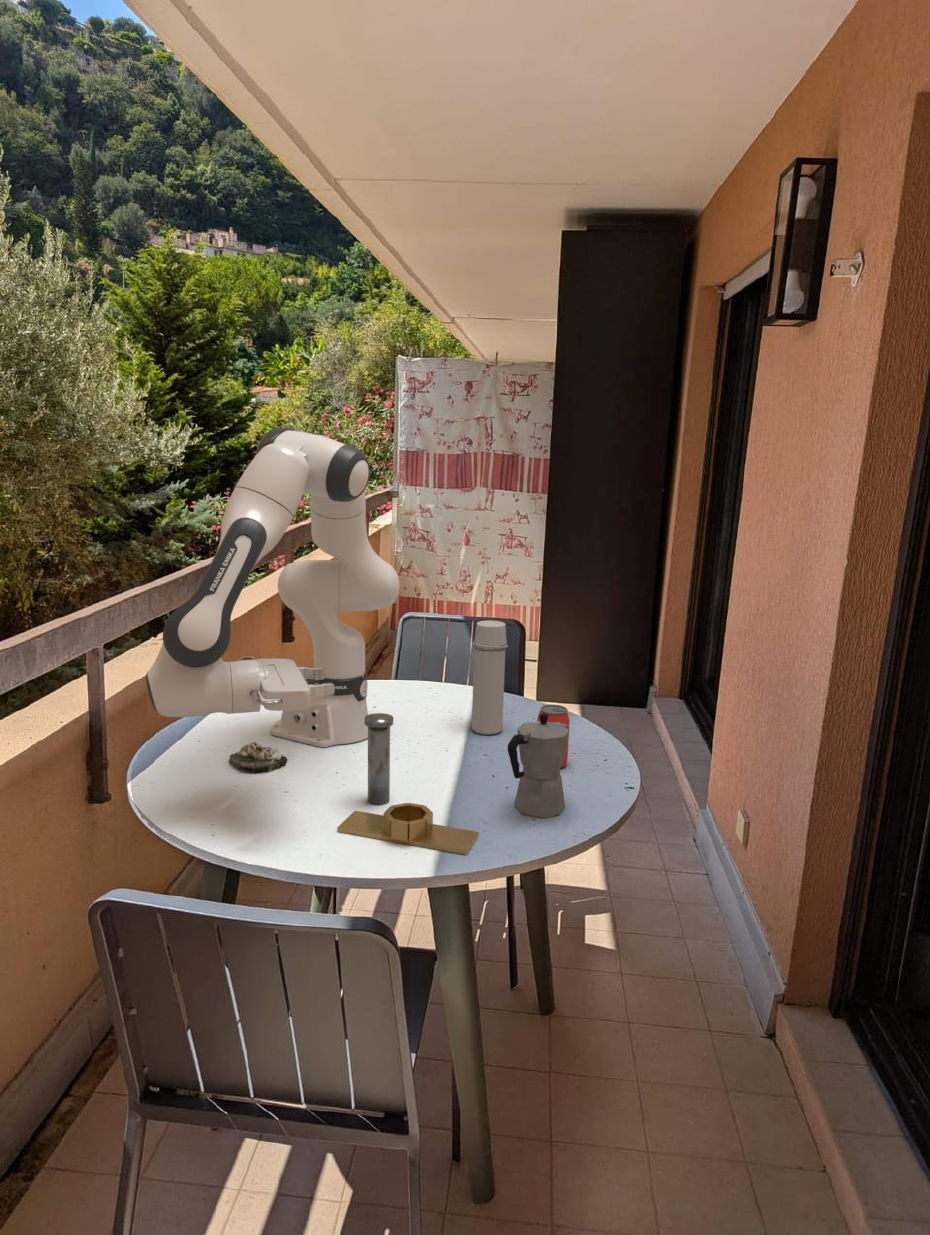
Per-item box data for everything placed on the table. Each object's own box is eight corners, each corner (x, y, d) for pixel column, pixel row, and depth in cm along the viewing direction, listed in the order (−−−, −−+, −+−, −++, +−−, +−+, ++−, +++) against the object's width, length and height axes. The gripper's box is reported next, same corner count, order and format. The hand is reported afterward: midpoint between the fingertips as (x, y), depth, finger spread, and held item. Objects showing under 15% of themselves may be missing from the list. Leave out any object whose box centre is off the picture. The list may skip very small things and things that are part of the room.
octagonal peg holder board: (336, 832, 147) (336, 811, 146) (355, 813, 154) (355, 793, 153) (465, 856, 140) (465, 834, 139) (479, 835, 147) (480, 814, 146)
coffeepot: (544, 789, 166) (548, 700, 163) (582, 805, 160) (588, 712, 156) (487, 812, 156) (490, 717, 152) (525, 830, 149) (530, 731, 146)
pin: (359, 803, 158) (359, 720, 155) (371, 792, 163) (371, 711, 160) (386, 808, 157) (386, 724, 153) (397, 796, 161) (397, 715, 158)
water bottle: (498, 738, 193) (502, 629, 187) (465, 733, 195) (468, 625, 190) (510, 725, 201) (514, 620, 196) (478, 720, 204) (482, 617, 198)
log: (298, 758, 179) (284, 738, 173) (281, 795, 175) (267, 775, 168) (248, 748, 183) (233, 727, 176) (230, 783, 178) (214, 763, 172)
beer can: (565, 771, 175) (568, 715, 173) (533, 768, 176) (535, 712, 174) (568, 759, 182) (571, 705, 179) (537, 756, 183) (539, 702, 180)
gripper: (253, 685, 138) (340, 679, 142) (242, 654, 157) (318, 649, 161) (254, 723, 139) (340, 716, 143) (243, 687, 158) (319, 682, 162)
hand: (328, 680), depth 152 cm, fingers open, 8 cm apart
